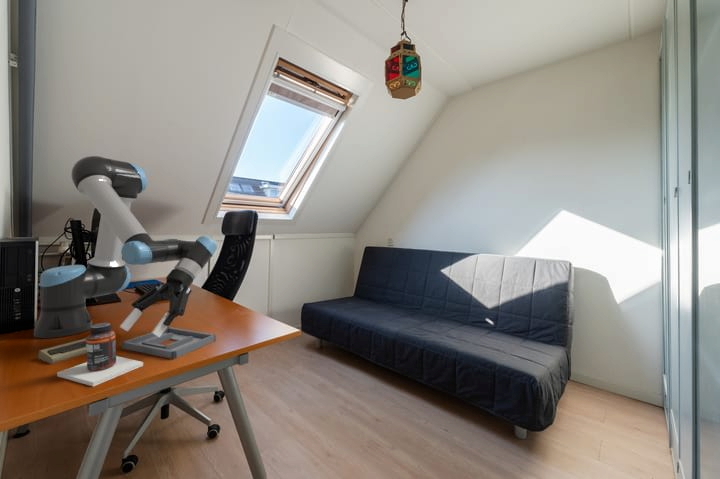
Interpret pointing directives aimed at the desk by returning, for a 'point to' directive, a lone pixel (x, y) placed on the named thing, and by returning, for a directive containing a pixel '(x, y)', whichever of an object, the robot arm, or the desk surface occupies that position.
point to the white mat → (99, 372)
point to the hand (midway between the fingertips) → (138, 332)
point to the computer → (63, 351)
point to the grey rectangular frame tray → (183, 344)
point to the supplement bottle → (101, 347)
